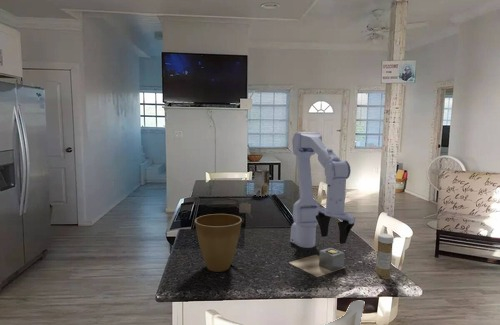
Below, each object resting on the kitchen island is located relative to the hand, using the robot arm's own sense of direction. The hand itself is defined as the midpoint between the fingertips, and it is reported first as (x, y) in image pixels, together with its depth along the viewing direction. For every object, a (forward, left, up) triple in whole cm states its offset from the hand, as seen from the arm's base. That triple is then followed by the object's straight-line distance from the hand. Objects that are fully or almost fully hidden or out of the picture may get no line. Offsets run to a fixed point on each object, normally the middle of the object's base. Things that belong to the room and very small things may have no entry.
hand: (333, 239), depth 113 cm
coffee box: (-102, +50, -10) cm, 115 cm away
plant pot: (-21, -31, -10) cm, 39 cm away
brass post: (0, 0, -10) cm, 10 cm away
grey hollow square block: (0, 0, -9) cm, 9 cm away
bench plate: (-3, -4, -10) cm, 11 cm away
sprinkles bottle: (+13, +9, -10) cm, 19 cm away
